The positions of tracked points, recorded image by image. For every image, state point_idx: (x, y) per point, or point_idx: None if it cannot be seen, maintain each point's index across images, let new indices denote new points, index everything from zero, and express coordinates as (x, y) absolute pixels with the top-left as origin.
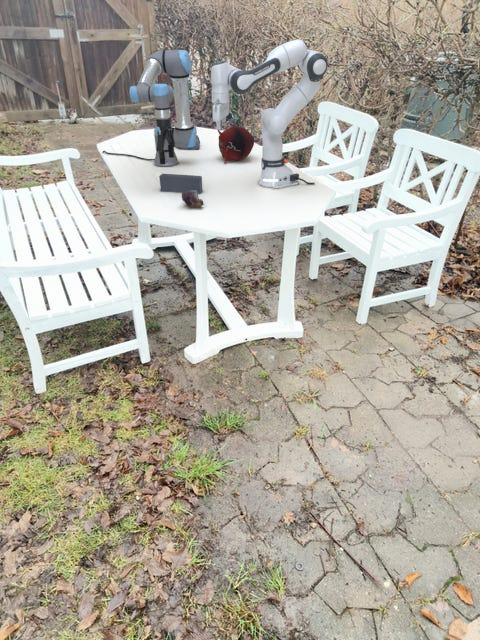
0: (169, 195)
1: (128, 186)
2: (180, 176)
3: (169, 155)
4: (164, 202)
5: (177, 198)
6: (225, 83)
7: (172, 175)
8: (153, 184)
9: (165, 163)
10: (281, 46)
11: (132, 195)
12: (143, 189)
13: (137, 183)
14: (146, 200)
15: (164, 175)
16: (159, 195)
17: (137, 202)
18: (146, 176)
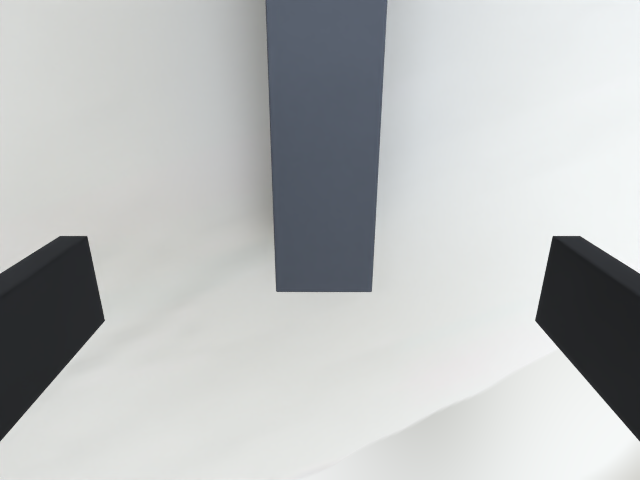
0: (453, 125)
1: (299, 467)
2: (346, 30)
3: (84, 329)
4: (633, 106)
5: (530, 19)
6: None
7: (323, 154)
8: (213, 340)
9: (559, 239)
10: None
11: (475, 386)
12: (340, 365)
13: (225, 441)
14: None
15: (340, 246)
16: (460, 208)
17: None
18: (59, 441)
